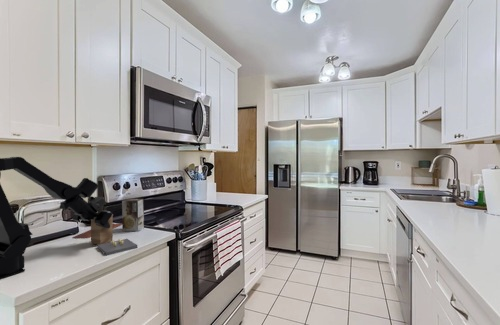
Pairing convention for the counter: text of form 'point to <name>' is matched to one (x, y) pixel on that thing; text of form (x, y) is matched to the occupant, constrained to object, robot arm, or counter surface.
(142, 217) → the coffee box
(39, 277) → the counter surface
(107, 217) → the robot arm
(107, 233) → the tan square box
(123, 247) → the flat gray plate
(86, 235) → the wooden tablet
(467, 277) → the counter surface
